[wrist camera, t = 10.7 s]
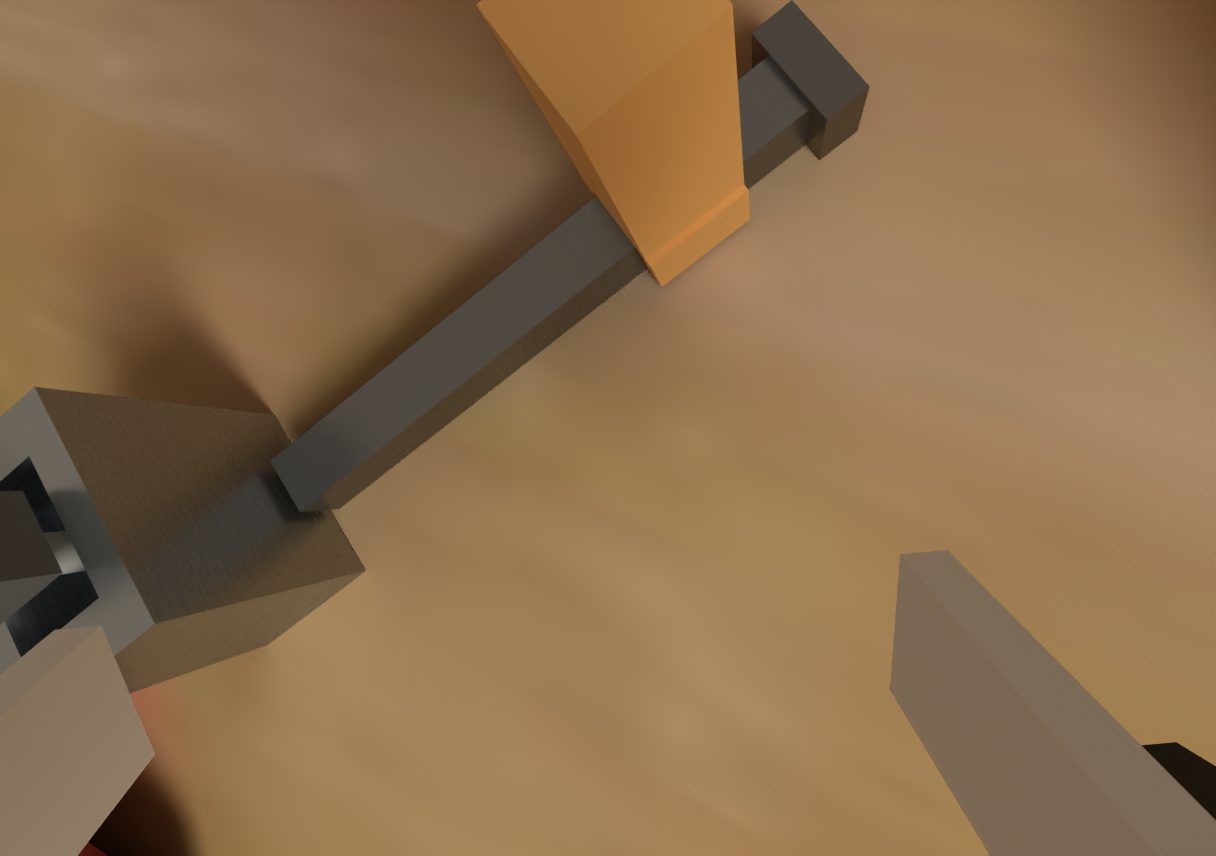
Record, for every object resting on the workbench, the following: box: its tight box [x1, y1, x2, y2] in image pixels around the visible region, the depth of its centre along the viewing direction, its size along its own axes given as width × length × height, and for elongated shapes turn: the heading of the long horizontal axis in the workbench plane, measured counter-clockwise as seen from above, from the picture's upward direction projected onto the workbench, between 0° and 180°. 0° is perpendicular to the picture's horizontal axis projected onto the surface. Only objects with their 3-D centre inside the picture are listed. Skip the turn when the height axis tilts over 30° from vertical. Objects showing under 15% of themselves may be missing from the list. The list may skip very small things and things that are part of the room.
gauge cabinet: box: [0, 387, 365, 693], centre depth 29 cm, size 7×10×12 cm
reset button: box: [0, 491, 86, 625], centre depth 23 cm, size 3×3×6 cm
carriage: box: [476, 0, 750, 287], centre depth 24 cm, size 5×6×14 cm
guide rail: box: [271, 0, 870, 512], centre depth 30 cm, size 31×5×4 cm, turn 125°
